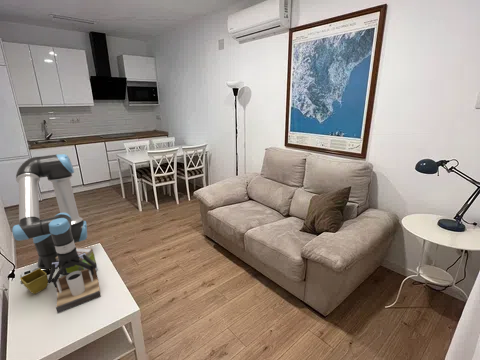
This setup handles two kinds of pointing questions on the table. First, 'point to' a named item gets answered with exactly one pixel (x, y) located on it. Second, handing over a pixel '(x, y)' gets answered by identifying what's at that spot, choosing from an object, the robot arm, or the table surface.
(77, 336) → the table surface
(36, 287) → the flower pot
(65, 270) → the tea box
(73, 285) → the white paper cup
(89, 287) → the wooden wall shelf
